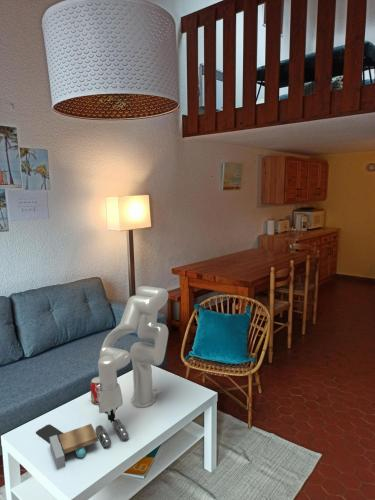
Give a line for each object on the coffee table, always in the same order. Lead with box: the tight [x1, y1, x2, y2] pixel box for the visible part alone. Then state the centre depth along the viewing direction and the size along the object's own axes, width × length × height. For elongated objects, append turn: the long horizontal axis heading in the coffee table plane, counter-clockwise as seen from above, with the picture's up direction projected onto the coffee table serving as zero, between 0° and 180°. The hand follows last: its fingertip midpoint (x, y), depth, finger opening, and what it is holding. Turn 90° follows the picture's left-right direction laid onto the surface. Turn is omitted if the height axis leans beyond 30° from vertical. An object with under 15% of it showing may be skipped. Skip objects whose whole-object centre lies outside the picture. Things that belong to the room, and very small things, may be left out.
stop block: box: [49, 435, 66, 470], centre depth 149 cm, size 3×14×5 cm, turn 31°
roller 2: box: [95, 424, 112, 448], centre depth 159 cm, size 4×14×4 cm, turn 31°
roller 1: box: [74, 446, 87, 459], centre depth 153 cm, size 14×4×4 cm, turn 31°
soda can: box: [89, 376, 100, 405], centre depth 186 cm, size 7×7×12 cm
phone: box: [35, 423, 64, 445], centre depth 162 cm, size 7×1×15 cm
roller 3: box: [112, 418, 130, 442], centre depth 163 cm, size 4×14×4 cm, turn 31°
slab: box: [58, 423, 99, 455], centre depth 153 cm, size 14×10×2 cm
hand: (111, 420), depth 162 cm, fingers closed
